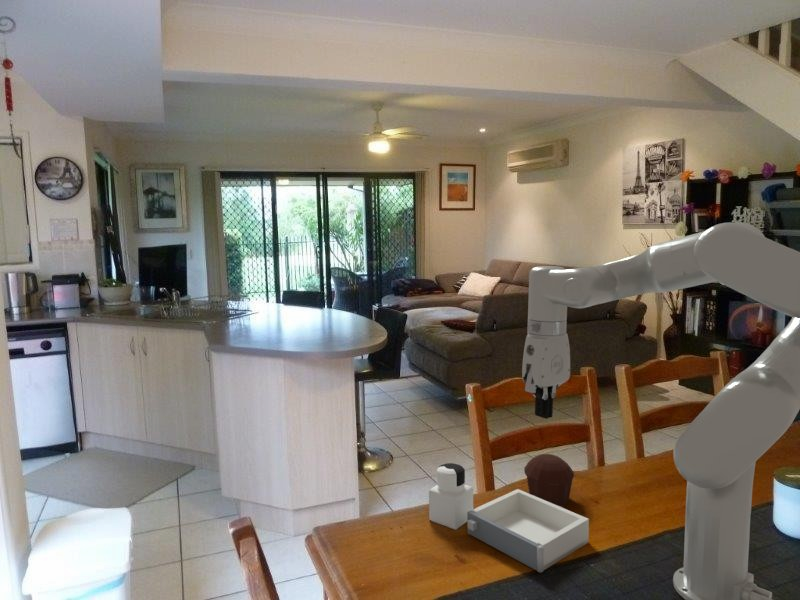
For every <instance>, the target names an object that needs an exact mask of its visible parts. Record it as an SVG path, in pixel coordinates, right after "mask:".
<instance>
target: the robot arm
mask: <svg viewBox="0 0 800 600" xmlns="http://www.w3.org/2000/svg"><path fill="white" fill-rule="evenodd" d="M715 282H716V283H717V282H719V283H720V284H721V285H724V286H726V287H728V288H730V289H732V290H734V291H735V292H737V293H740V294H742V295H745V296H746V297H748V298H750V299H752V300H755V301H756V302H758V303H760V304H762V305H764V306H766V307H768V308H770V309H773V311H774V310H775V311H777V312H779V313H780V314H784V315H786V316H788V317H791V319H790V320H789V322H788V323H787V325H786V326H785V327H784V329H783V330H781V332H780V333H779V334H778V335H777V336H776V337H775V338H774V339H773V340H772V342H771V343H770V345H769V346H767V348H765V350H764V351H763V352H762V353H761V354H760V356H758V357H757V358H756V360H755V361H754V362H752V363H751V364H749V366H748V367H747V368H745V369H744V370H743V371H740V372H739V373H738V374H737V375H735V376H734V377H733V378H732V379H731V380H729V382H728V383H726V385H725V386H724V387H722V388H721V390H720V391H719V392H718V393H717V395H715V396H714V397H713V398H712V400H710V401H709V403H708V404H707V405H706V406H705V407H704V408H703V410H702V411H701V412H700V413H698V415H697V416H696V417H695V418H694V420H692V421H691V423H690V424H689V425H688V426H687V427H686V428H685V429H684V430H683V431H682V432H681V434H680V435H679V436H678V437H677V439H676V441H675V443H674V446H673V452H672V453H673V462H674V465H675V467H676V469H677V471H678V473H679V474H680V475H681V476H682V478H683V479H684V480H686V483H687V484H686V495H685V496H686V499H685V520H684V547H683V549H684V551H683V567H680V568H678V569H677V570H676V571H675V572H674V573H673V578H672V582H673V587H674V590H675V591H676V592H677V593H678V594H679V595H680V597H682V598H683V599H684V600H774V599H772V598H773V592H772V591H770V590H767V589H765V588H761V587H760V586H757V584H756V583H754V577H755V574H753V573H751V572H749V571H748V569H749V551H750V549H749V548H750V532H751V513H752V502H753V501H752V500H753V487H754V477H755V469H756V462H757V460H759V459H760V458H762V456H763V455H764V454H765V453H766V452H767V451H768V450H769V449H770V448H771V447H772V446H773V445H774V444H775V443H776V442H777V441H778V440H779V439H780V438H781V437H782V436H784V434H785V433H786V431H787V430H788V429H789V428H790V427H791V425H792V423H793V422H794V420H795V418H796V417H797V415H798V414H799V411H800V251H798V250H796V249H794V248H790V247H788V246H786V245H784V244H781V243H778V242H777V241H775V240H773V239H770V238H767V237H765V235H764V233H763V232H762V231H761V230H760V229H759V228H757V227H756V226H754V225H752V224H750V223H746V222H731V221H730V222H723V223H722V222H721V223H718V224H715V225H713V226H710V227H709V228H707V229H706V230H704V231H700V232H696V233H693V234H689V235H685V236H682V237H678V238H675V239H670V240H667V241H663V242H659V243H655V244H652V245H651V246H649V247H647V248H646V249H645V250H644V251H642V252H641V253H638V254H635V255H632V256H628V257H625V258H622V259H619V260H614V261H611V262H607V263H603V264H599V265H593V266H592V265H591V266H585V267H584V266H583V267H577V268H569V269H566V268H565V267H563V266H559V265H558V266H556V265H555V266H553V265H540V266H539V265H538V266H534V267H532V268H531V269H530V271H529V275H528V302H527V303H528V304H527V305H528V306H527V307H528V309H527V327H526V329H527V335H526V337H525V342H524V347H523V348H524V349H523V357H522V365H521V366H522V367H521V368H522V369H521V373H522V374H521V377H522V382H523V383H525V387H524V390H525V392H527V393H531V394H532V395H533V397H534V398H535V401H534V402H535V404H534V414H535V415H534V416H537V417H539V418H543V419H545V420H546V419H549V418H553V411H554V398H555V397H556V393H557V389H558V388H560V386H562V385H564V383H566V382H567V381H568V380H570V377H571V348H570V342H569V341H570V340H569V336H568V333H567V323H568V322H567V319H568V318H567V316H568V307H569V308H574V309H586V308H589V307H592V306H597V305H601V304H605V303H610V302H613V301H616V300H623V299H627V298H631V297H635V296H639V295H640V296H641V295H645V294H652V293H653V294H654V293H655V294H656V293H658V294H665V293H669V292H674V291H678V290H683V289H687V288H692V287H697V286H700V285H701V286H702V285H706V284H710V283H711V284H712V283H715Z"/></svg>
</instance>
